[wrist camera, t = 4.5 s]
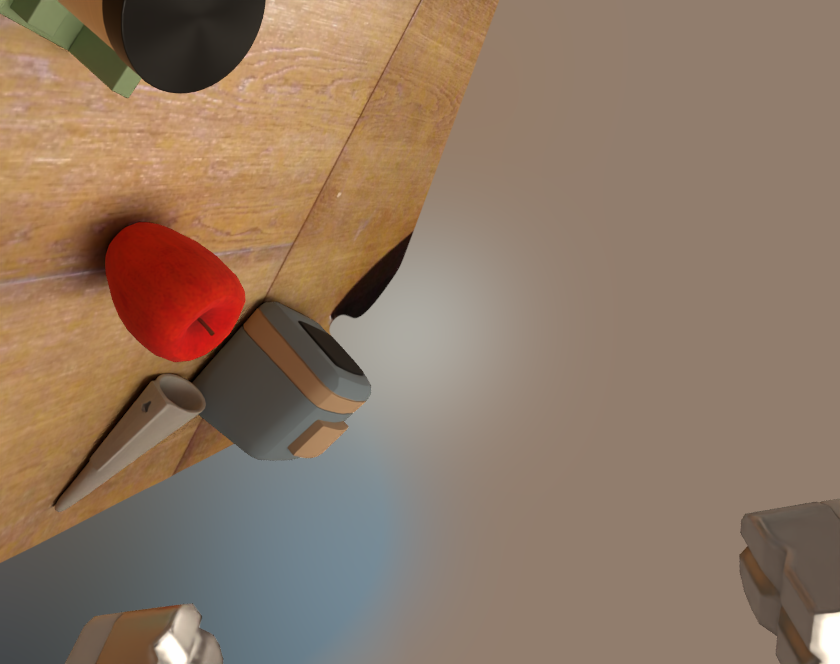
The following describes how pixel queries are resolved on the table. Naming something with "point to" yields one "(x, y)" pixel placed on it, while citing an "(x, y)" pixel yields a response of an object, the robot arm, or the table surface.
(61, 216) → the table surface
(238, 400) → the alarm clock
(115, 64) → the drying rack
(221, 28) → the travel mug
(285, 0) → the table surface
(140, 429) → the long tapered cone
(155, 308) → the apple
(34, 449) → the table surface
